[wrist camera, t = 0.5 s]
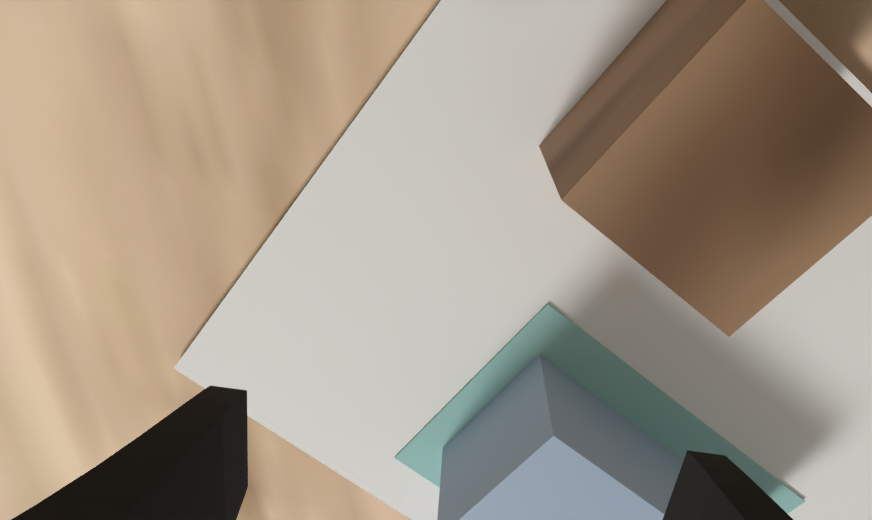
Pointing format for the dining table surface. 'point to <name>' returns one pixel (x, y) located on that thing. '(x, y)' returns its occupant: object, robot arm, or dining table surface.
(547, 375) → the base block
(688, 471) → the robot arm
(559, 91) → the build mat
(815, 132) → the walnut cube
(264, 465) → the dining table surface
